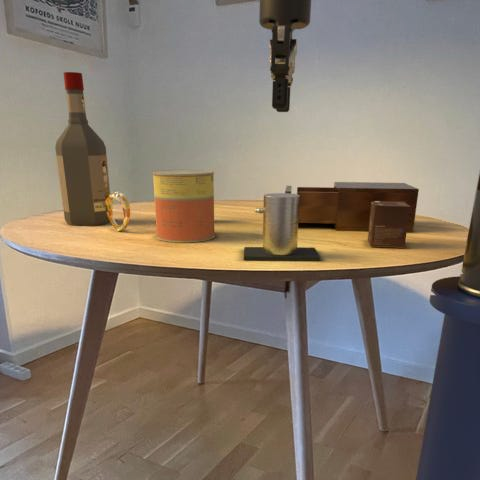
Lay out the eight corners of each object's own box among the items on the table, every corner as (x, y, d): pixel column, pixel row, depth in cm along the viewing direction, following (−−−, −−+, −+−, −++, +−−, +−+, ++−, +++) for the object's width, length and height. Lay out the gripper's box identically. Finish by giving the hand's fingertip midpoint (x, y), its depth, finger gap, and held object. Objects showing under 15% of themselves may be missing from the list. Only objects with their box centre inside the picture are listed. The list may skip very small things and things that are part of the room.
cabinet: (335, 230, 97) (339, 187, 94) (331, 219, 110) (334, 181, 107) (413, 232, 96) (419, 188, 93) (399, 221, 108) (404, 182, 105)
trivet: (314, 250, 80) (314, 247, 79) (320, 260, 73) (320, 257, 73) (244, 250, 80) (244, 246, 80) (243, 260, 73) (243, 256, 73)
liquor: (62, 225, 101) (41, 70, 90) (75, 218, 110) (58, 75, 99) (104, 225, 101) (88, 70, 90) (114, 219, 110) (101, 76, 99)
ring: (135, 232, 94) (132, 191, 91) (120, 234, 92) (117, 192, 89) (118, 227, 99) (115, 188, 96) (104, 229, 97) (100, 189, 94)
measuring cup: (252, 254, 74) (253, 196, 71) (255, 247, 79) (256, 192, 76) (296, 256, 73) (299, 197, 70) (296, 248, 79) (299, 193, 75)
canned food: (226, 236, 91) (226, 171, 87) (183, 245, 83) (180, 175, 79) (188, 229, 98) (185, 169, 94) (144, 236, 90) (139, 171, 86)
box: (405, 248, 81) (410, 205, 79) (369, 247, 82) (373, 204, 80) (400, 241, 87) (405, 201, 84) (367, 240, 88) (371, 200, 85)
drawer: (265, 223, 99) (266, 190, 97) (268, 215, 111) (269, 185, 108) (353, 226, 97) (356, 192, 95) (347, 216, 109) (350, 186, 106)
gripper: (312, -29, 61) (304, 108, 67) (311, 0, 74) (305, 112, 80) (254, -27, 62) (252, 108, 68) (264, 2, 75) (261, 112, 81)
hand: (281, 110), depth 74 cm, fingers open, 8 cm apart
